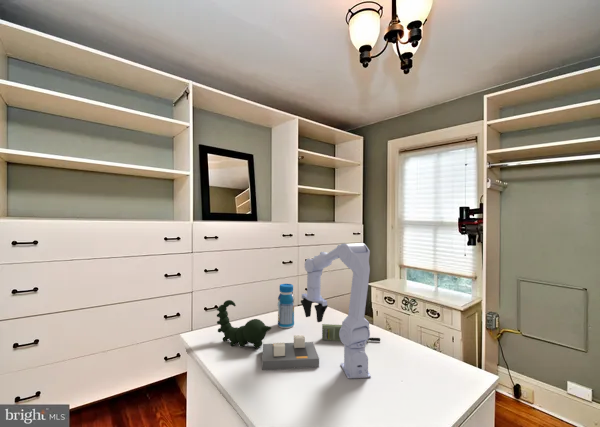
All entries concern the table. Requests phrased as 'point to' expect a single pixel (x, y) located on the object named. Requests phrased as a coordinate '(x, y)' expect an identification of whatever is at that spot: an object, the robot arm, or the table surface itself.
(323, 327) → the handheld radio
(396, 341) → the table surface
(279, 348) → the tab
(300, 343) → the tab
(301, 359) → the switch panel
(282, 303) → the beverage bottle
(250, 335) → the toy figurine
